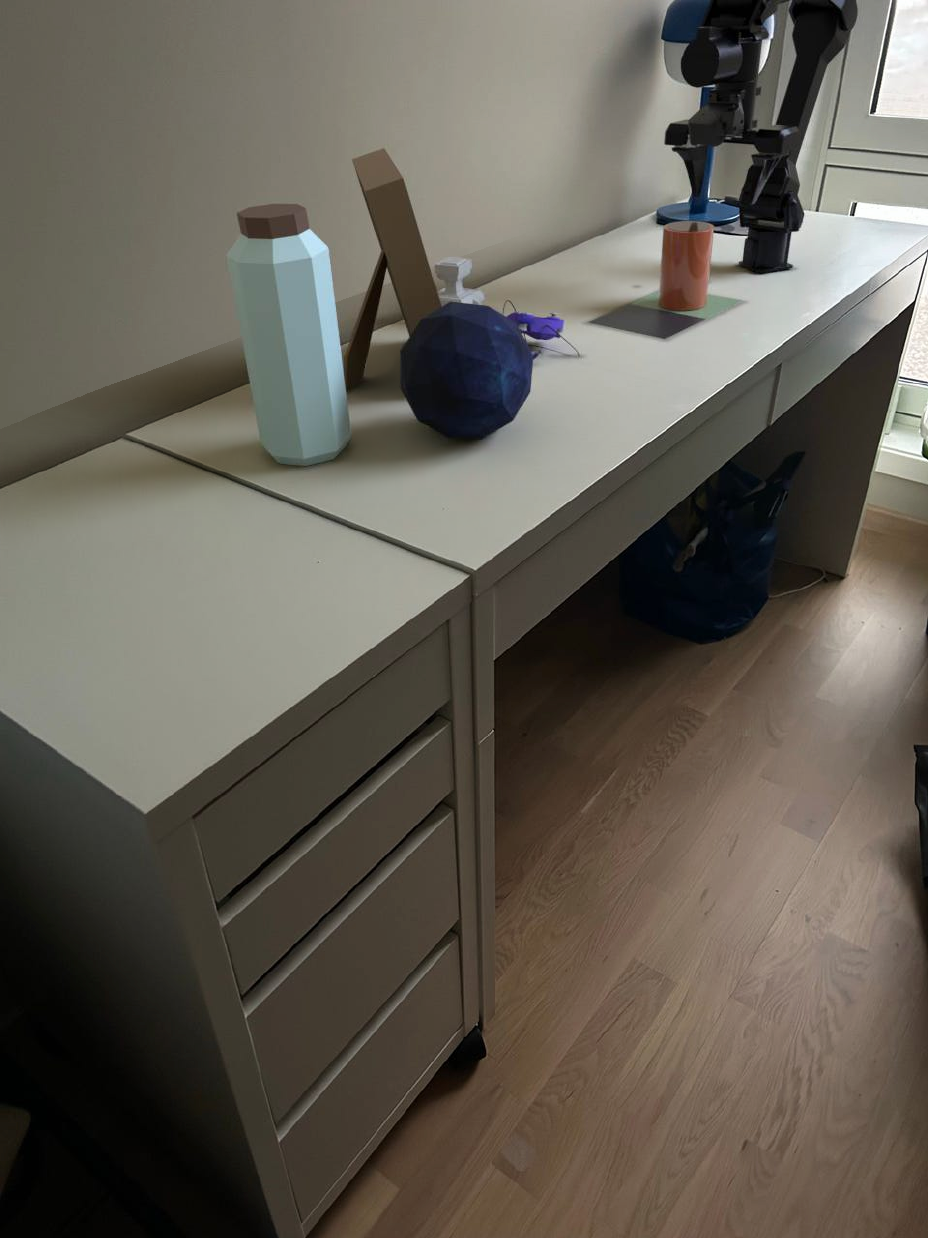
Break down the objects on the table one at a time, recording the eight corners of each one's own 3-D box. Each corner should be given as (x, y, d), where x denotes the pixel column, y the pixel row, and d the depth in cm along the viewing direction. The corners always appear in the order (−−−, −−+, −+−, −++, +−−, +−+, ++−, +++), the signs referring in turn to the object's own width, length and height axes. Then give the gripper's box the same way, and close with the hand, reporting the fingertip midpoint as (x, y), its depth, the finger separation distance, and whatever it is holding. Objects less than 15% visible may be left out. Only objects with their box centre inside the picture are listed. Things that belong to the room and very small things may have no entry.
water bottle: (266, 435, 109) (225, 203, 95) (353, 428, 109) (325, 196, 95) (258, 473, 101) (212, 225, 87) (352, 465, 101) (321, 217, 87)
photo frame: (440, 338, 134) (428, 144, 120) (465, 393, 117) (454, 173, 102) (336, 349, 133) (311, 153, 118) (346, 406, 115) (317, 184, 101)
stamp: (418, 322, 141) (414, 263, 136) (441, 309, 146) (437, 252, 141) (471, 329, 137) (468, 269, 132) (492, 315, 142) (490, 257, 137)
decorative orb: (552, 357, 110) (470, 255, 103) (567, 407, 98) (474, 295, 91) (459, 432, 115) (375, 339, 108) (461, 488, 103) (367, 387, 96)
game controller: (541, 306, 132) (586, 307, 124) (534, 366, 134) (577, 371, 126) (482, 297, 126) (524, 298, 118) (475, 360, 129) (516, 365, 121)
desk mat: (668, 288, 149) (668, 287, 149) (742, 301, 142) (742, 300, 141) (588, 323, 137) (588, 321, 137) (665, 340, 129) (665, 338, 129)
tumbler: (674, 294, 146) (680, 218, 139) (715, 302, 142) (723, 224, 135) (648, 306, 141) (653, 228, 135) (690, 314, 137) (697, 234, 131)
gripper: (646, 83, 131) (639, 203, 140) (769, 88, 121) (753, 218, 130) (689, 75, 138) (680, 191, 147) (810, 79, 127) (792, 203, 136)
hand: (723, 200), depth 140 cm, fingers open, 9 cm apart
